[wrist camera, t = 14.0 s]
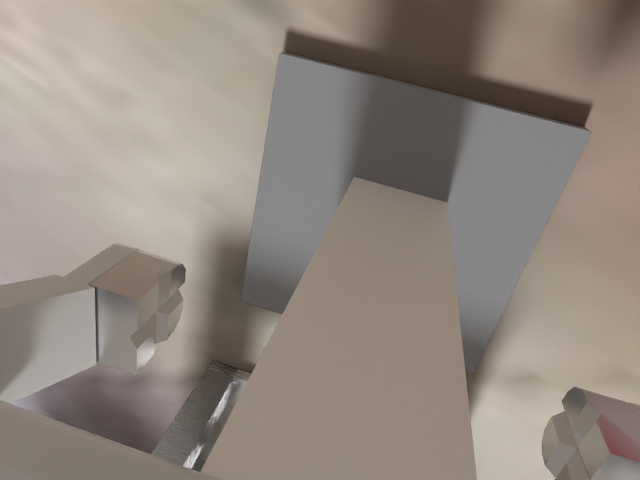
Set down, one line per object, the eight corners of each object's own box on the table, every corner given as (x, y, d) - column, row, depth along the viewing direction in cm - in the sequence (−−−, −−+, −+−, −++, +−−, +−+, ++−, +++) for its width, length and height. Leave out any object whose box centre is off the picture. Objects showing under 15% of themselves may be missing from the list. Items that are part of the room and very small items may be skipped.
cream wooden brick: (447, 202, 14) (535, 1027, 2) (417, 282, 15) (381, 1055, 4) (354, 177, 14) (31, 794, 3) (333, 257, 16) (58, 899, 4)
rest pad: (585, 127, 13) (591, 131, 12) (471, 363, 17) (472, 373, 16) (284, 52, 14) (279, 52, 13) (246, 292, 18) (240, 301, 17)
